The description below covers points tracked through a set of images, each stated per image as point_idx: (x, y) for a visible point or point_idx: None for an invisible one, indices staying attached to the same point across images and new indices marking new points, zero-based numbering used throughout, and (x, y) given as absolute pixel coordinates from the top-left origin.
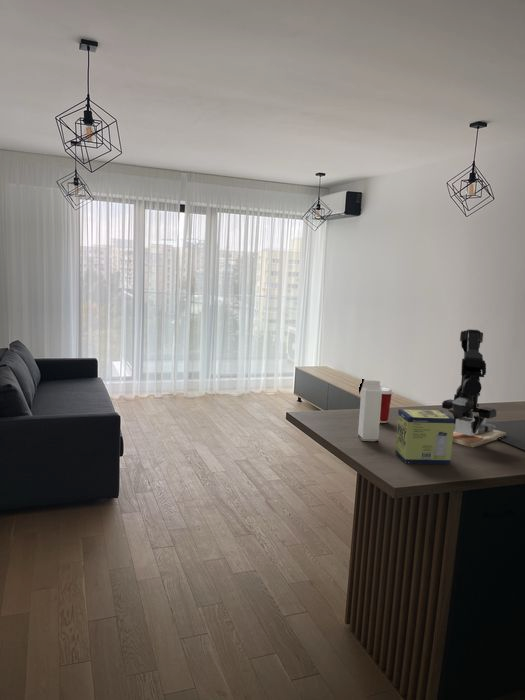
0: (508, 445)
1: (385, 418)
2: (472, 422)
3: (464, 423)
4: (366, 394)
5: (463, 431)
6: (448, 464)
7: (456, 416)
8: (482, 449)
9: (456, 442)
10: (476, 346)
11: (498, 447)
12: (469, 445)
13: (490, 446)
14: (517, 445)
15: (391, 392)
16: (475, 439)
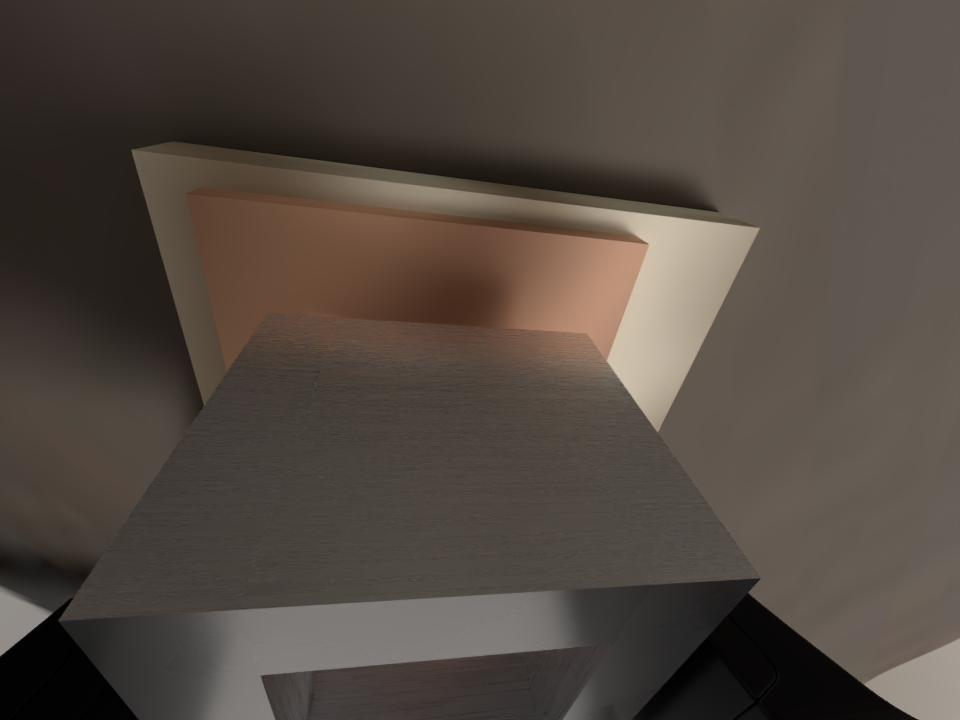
0: (86, 559)
1: None
2: (121, 655)
3: (406, 502)
4: None
5: (413, 347)
6: None
7: (770, 690)
8: (23, 183)
9: (474, 183)
10: None
11: (51, 445)
12: (231, 154)
13: (123, 410)
14: (57, 605)
15: None
16: (226, 352)
